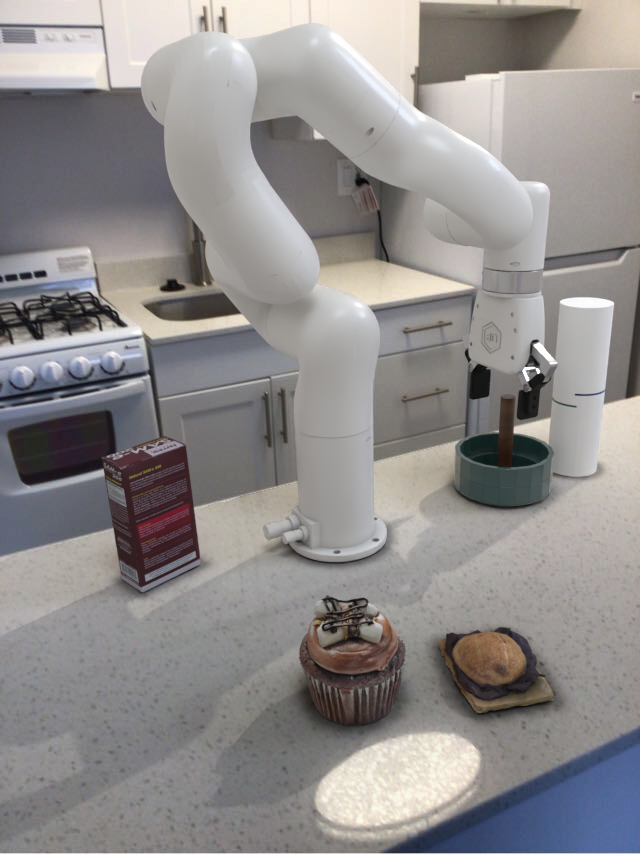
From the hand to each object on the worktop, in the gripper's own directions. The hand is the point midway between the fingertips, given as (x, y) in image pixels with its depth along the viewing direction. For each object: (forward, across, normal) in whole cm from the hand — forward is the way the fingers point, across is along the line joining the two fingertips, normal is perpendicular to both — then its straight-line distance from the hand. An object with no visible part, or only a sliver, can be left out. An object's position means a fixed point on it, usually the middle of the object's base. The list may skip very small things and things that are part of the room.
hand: (502, 407), depth 103 cm
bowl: (+12, 0, +1) cm, 12 cm away
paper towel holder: (+12, 0, +1) cm, 12 cm away
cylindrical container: (+12, 0, +15) cm, 19 cm away
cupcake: (+14, +26, -39) cm, 49 cm away
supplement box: (+14, -4, -48) cm, 50 cm away
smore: (+13, +30, -26) cm, 42 cm away
